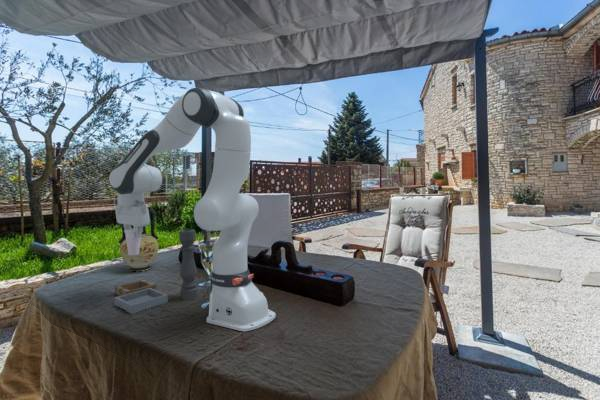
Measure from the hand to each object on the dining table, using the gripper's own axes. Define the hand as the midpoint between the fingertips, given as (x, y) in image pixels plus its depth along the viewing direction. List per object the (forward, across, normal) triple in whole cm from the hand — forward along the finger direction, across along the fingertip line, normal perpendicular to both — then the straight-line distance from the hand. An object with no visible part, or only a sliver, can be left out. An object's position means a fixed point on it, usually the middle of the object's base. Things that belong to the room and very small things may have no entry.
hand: (133, 236), depth 124 cm
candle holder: (+23, -21, -10) cm, 32 cm away
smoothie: (+7, 0, 0) cm, 7 cm away
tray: (+22, -13, +4) cm, 26 cm away
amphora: (+22, +32, -17) cm, 43 cm away
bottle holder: (+22, 0, 0) cm, 22 cm away
